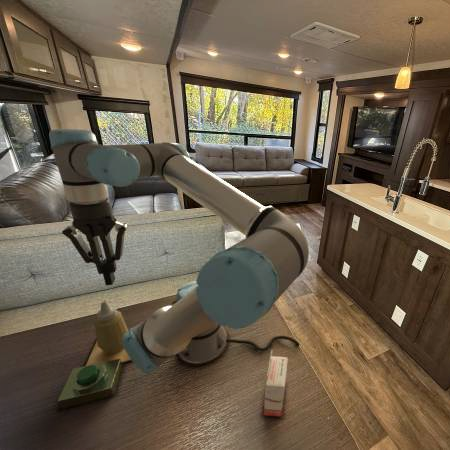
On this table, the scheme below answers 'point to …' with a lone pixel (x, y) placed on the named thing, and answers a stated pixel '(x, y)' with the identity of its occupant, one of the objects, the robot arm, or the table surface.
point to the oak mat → (106, 356)
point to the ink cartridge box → (275, 386)
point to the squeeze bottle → (110, 329)
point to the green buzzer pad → (91, 384)
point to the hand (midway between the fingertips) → (110, 282)
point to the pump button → (87, 375)
